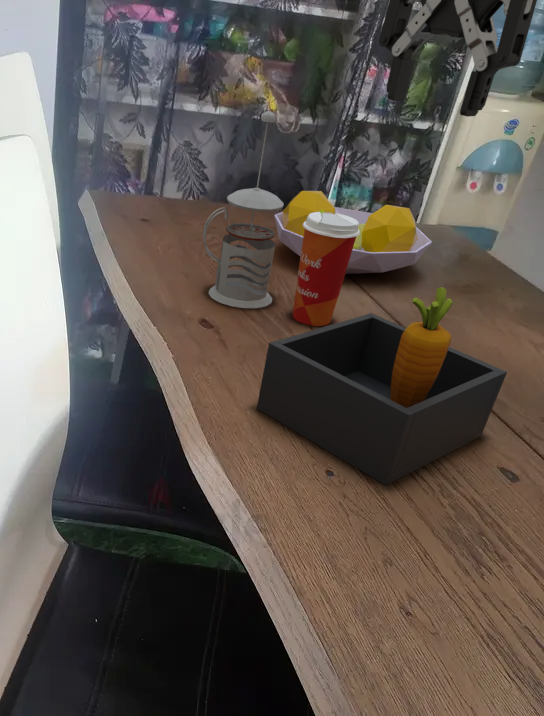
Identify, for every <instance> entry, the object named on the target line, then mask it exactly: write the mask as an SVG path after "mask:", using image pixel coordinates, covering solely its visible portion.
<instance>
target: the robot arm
mask: <svg viewBox="0 0 544 716" xmlns="http://www.w3.org/2000/svg"><path fill="white" fill-rule="evenodd" d="M417 1H418V0H389V1H388V5H387V9H386V13H385V16H384V20H383V23H382V27H381V32H380V34H379V38H378V44H379V46H380V47H382V48H386V49H387V50H388V51H389V52H391V55H392V62H391V66H390V70H389V74H388V78H387V82H386V89H385V90H386V93H387V99H388V100H389V101H393V102H402V101H404V100H405V98H406V96H407V92H408V89H409V84H410V81H411V78H412V77H411V76H412V72H413V69H414V65H415V62H416V61H415V60H416V59H414V58H413V56H414V55H415V54H416V53H417V52H418V50H420V48H422V46H423V45H424V44H425V43H426V42H427V41H429V40H431V39H432V38H433V37H434V36H435V35H438V36H439V35H440V36H449V37H451V38H456V39H457V38H458V39H464V40H465V44H466V46H467V48H468V49H469V50H470V53H471V57H472V61H473V64H474V68H475V70H471V73H470V75H469V79H468V82H467V85H466V89H465V93H464V96H463V100H462V102H461V106H460V109H459V115H460V116H463V117H476V116H477V115H478V113H479V111H482V110H483V109H484V107H485V106H486V103H487V100H488V97H489V93H490V91H491V87H492V84H493V81H494V77H495V75H496V73H497V72H498V71H500V70H503V69H506V68H509V67H516V66H518V65H519V63H520V62H521V59H522V55H523V52H524V49H525V46H526V41H527V39H528V34H529V31H530V27H531V23H532V21H533V16H534V13H535V10H536V6H537V2H538V0H420V3H421V8H420V9H419V11H418V12H417V13H416V14H415V15H414V16H413V17H412V19H411V20H410V18H411V14H412V12H413V11H412V10H413V7H414V4H415V3H416V2H417ZM502 6H503V14H504V16H505V19H504V22H503V27H502V31H501V33H500V34H501V35H500V38H499V41H498V34H497V30H496V27H495V26H496V25H495V23H494V19H493V16H494V15H495V14H496V13H497V11H498V10H500V8H502ZM497 42H498V43H497Z"/></svg>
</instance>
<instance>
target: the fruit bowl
mask: <svg viewBox="0 0 544 716" xmlns="http://www.w3.org/2000/svg"><path fill="white" fill-rule="evenodd" d="M314 212H320V213H324V212H327V213H332V214H335V213H337V214H342V215H346V216H349V217H352V218H354V219H356V220H357V221H358V223H359V226H358V229H359V232H360V234H359V235H358V236H356V240H355V243H354V246H353V250H352V253H351V256H350V260H349V263H348V266H347V270H346V273H345V275H350V274H351V275H354V274H356V275H357V274H381V273H385V272H390V271H394V270H398V269H402V268H405V267H408V266H409V267H410V266H413V265H415V264H416V263H417V262H418V261H419V259H420V258H421V257H422V255H424V253H425V251H427V249H428V248H429V246H431V244H432V243H433V241H432V240H431V239H430V238H428V236H427V235H426V234H425V233H423V232H422V231H421V230H420V228H418V227H417V225H416V219H415V217H414V215H413V213H412V211H411V209H410V207H403V206H399V205H398V206H397V205H391V204H385V205H383V206H382V207H380V208H379V209H377V210H375V212H373V213H372V212H367V211H361V210H355V209H349V208H344V207H343V208H342V207H338V206H334V205H333V204H332V202H331V201H330V200H329V198H327V196H326V195H325V194H324V192H323V191H322V190H301V191H300V192H298V194H296V195H295V196H294V197H293V198H292V199H291V200H290V202H289V203H288V204H287V205H286V207H285V208H284V210H282V211H280V212H278V213H276V214H274V221H275V225H276V226H275V227H276V230H277V236H278V241H280V242H281V243H282V244H283V245H285V246H286V247H287V248H288V249H290V250H291V251H293V253H295V254H296V255H297V256H299V257H301V250H302V243H303V236H304V230H305V228H304V227H303V223H304V222H305V221H306V220H307V217H308V215H309V214H310V213H314ZM321 215H322V214H321Z"/></svg>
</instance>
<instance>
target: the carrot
mask: <svg viewBox="0 0 544 716" xmlns="http://www.w3.org/2000/svg"><path fill="white" fill-rule="evenodd" d="M411 303H412V304H413V305H414V306H415V307H417V310H418V311H419V313H420V315H421V319H422V321H414V322H412V323H410V324H409V325H408V326H407V327H405V328H406V329H405V331H404V332H403V334H402V336H401V340H400V343H399V347H398V351H397V354H396V359H395V363H394V367H393V372H392V381H391V393H390V399H391V400H392V401H394V402H396V403H398V404H400V405H401V406H403V407H405V408H408V407H410V406H413V405H415V404H417V403H420V402H422V401H424V399H425V398H426V396H427V394H428V393H429V391H430V389H431V387H432V386H433V384H434V382H435V380H436V378H437V376H438V374H439V371H440V369H441V367H442V364H443V362H444V359H445V356H446V354H447V351H448V348H449V347H451V343H452V335H451V333H450V332H449V331H447V330H446V329H445V328H444V327H442V325H440V324H439V323H440V322H441V321H442V320H443V319H444V317H445V316H446V314H447V313H448V312H449V310H450V309H451V307H452V306H453V304H454V302H453V300H452V299H451V298H447V288H444V287H443V286H442V287H437V288H436V293H435V300H434V301H431V304H430V305H428V306H427V307H426V305H425V303H424V302H423V301H422V300H421V299H420V298H418V297H414V298H412V300H411Z"/></svg>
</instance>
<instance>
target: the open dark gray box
mask: <svg viewBox="0 0 544 716" xmlns="http://www.w3.org/2000/svg"><path fill="white" fill-rule="evenodd" d="M406 328H407V327H404V326H402V325H400V324H398V323H395V322H394V321H390V320H389V319H386V318H384V317H381V316H379V315H377V314H375V313H372V312H370V313H366V314H364V315H363V314H362V315H360V316H356V317H353V318H350V319H347V320H343V321H339V322H336V323H332V324H328V325H324V326H321V327H318V328H315V329H312V330H308V331H305V332H302V333H299V334H295V335H291V336H288V337H284V338H282V339H277V340H273V341H271V342H269V343H268V346H267V351H266V357H265V362H264V367H263V372H262V379H261V385H260V388H259V394H258V399H257V403H256V410H258V411H259V412H261V413H263V414H265V415H267V416H268V417H270V418H271V419H273V420H275V421H277V422H278V423H280V424H282V425H283V426H285V427H286V428H289V429H290V430H292V431H293V432H295V433H297V434H298V435H300V436H302V437H303V438H305V439H307V440H309V441H310V442H311V443H313V444H315V445H317V446H319V447H320V448H322V449H324V450H325V451H327V452H329V453H330V454H332V455H333V456H336V457H337V458H338V459H341V460H342V461H344V462H345V463H347V464H349V465H351V466H352V467H354V468H356V469H357V470H358V471H360V472H362V473H364V474H366V475H367V476H369V477H371V478H372V479H373V480H375V481H378V482H379V483H381V484H383V486H388V485H390V484H392V483H394V482H395V481H398V480H400V479H402V478H403V477H405V476H407V475H410V474H411V473H413V472H415V471H417V470H419V469H421V468H423V467H425V466H427V465H428V464H431V463H433V462H435V461H436V460H439V459H441V458H442V457H444V456H446V455H448V454H450V453H452V452H453V451H456V450H458V449H460V448H461V447H464V446H465V445H468V444H470V443H471V442H473V441H475V440H477V439H479V438H481V437H482V435H483V433H484V430H485V428H486V426H487V423H488V421H489V418H490V416H491V413H492V410H493V407H494V406H495V403H496V402H497V401H496V400H497V398H498V396H499V393H500V391H501V388H502V386H503V383H504V381H505V379H506V376H507V374H508V372H507V371H506V370H504V369H502V368H499V367H496V366H495V365H492V364H490V363H488V362H485V361H483V360H480V359H479V358H476V357H474V356H472V355H470V354H467V353H464V352H463V351H459V350H458V349H455V348H453V347H451V346H449V348H448V351H447V354H446V356H445V359H444V362H443V364H442V367H441V369H440V371H439V374H438V376H437V378H436V380H435V382H434V384H433V386H432V387H431V389H430V391H429V393H428V394H427V396H426V398H425V399H424V401H422V402H420V403H417V404H415V405H413V406H410V407H408V408H405V407H403V406H401V405H400V404H398V403H396V402H394V401H392V400H391V399H390V393H391V381H392V372H393V367H394V363H395V359H396V354H397V351H398V347H399V343H400V340H401V336H402V334H403V332H404V331H405V329H406Z"/></svg>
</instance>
